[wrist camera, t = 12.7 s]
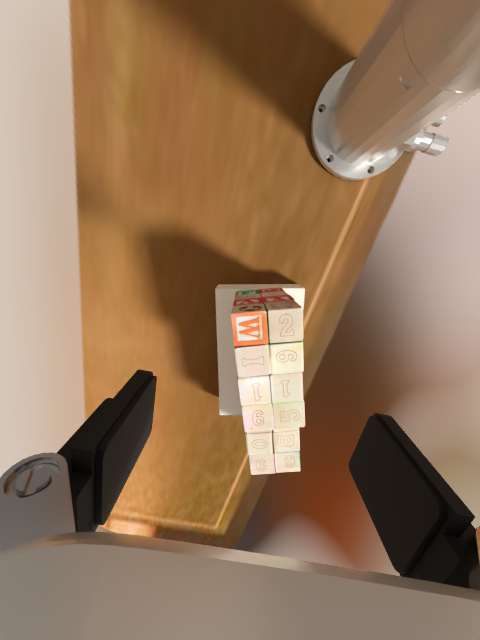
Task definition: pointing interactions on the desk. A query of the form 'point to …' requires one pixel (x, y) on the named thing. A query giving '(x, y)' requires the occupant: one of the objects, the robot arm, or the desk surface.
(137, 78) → the desk surface
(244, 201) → the desk surface
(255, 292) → the stack of blocks
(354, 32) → the desk surface
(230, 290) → the block
